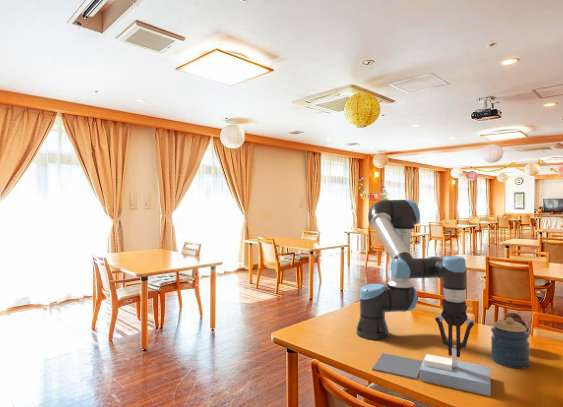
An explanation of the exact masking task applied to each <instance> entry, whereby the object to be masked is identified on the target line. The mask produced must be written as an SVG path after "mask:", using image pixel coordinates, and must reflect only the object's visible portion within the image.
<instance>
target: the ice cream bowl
mask: <svg viewBox="0 0 563 407" xmlns="http://www.w3.org/2000/svg"><path fill="white" fill-rule="evenodd" d="M507 317H511V318H512V319H513V320H514V321H516V322H519V323H521V324H522V325H523V326H525V327H526V328H527V330H526V332H527V333H528V334H529V327H527V324H526V323H525V321H524V320H522V317H521V315H519V314H518V313H515V312H508V313H507V314H506V315H505V317H504V319H502V320H506V318H507Z"/></svg>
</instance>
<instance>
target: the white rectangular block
mask: <svg viewBox="0 0 563 407" xmlns="http://www.w3.org/2000/svg"><path fill="white" fill-rule="evenodd" d="M425 355H426V357H425V360H424V366H429V367H434V368H439V369H444V370H449V371H452V357H450V358H449V357H445V356H440V355H435V354H429V353H428V354H427V353H426V354H425Z"/></svg>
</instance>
